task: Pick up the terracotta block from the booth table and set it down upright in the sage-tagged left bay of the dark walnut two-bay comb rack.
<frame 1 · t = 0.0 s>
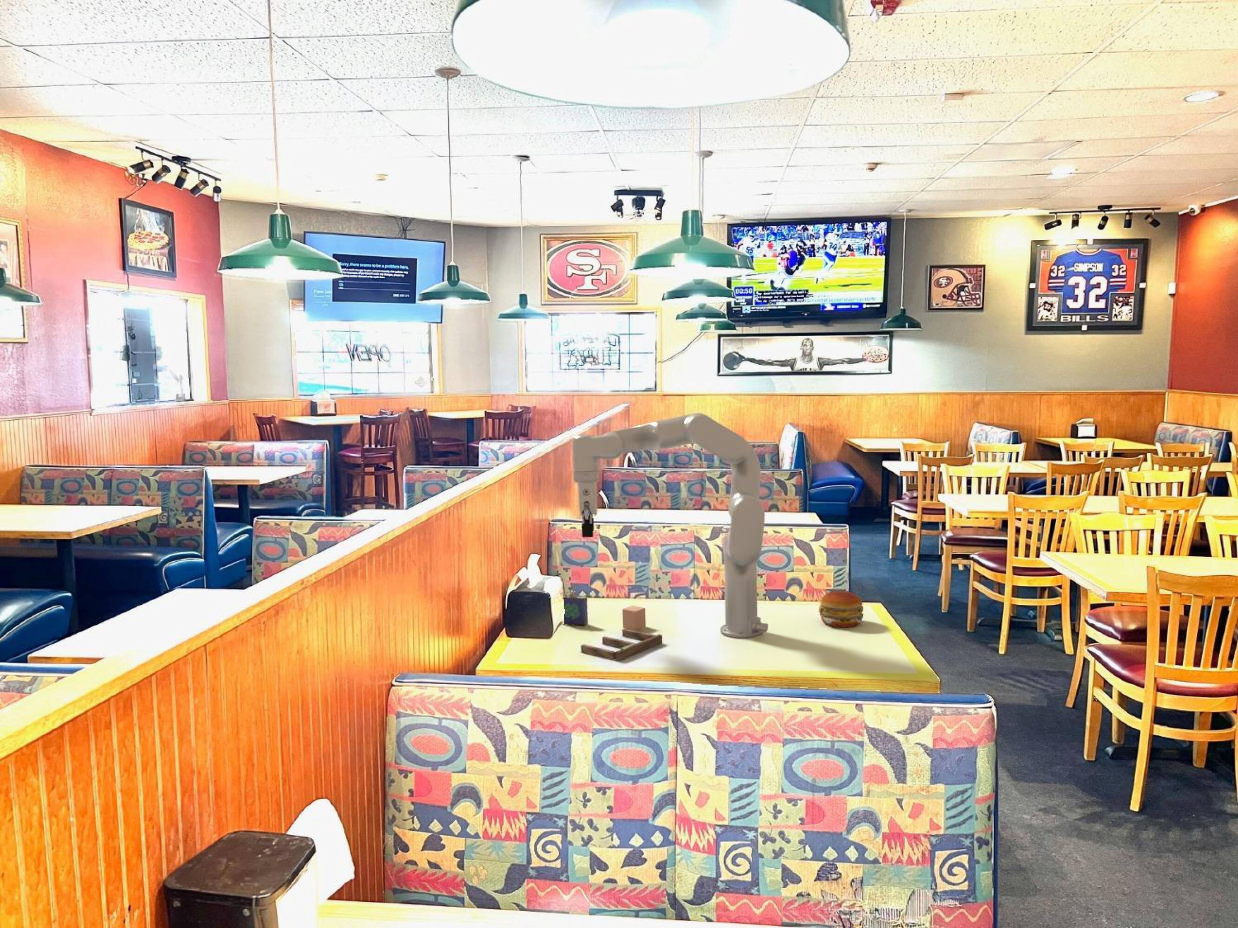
hand: (588, 534, 262), 31 cm above the table, tool pointing down, fingers open, 9 cm apart
comb rack: (619, 647, 254), on the table
flask: (574, 624, 279), on the table
burger: (840, 624, 272), on the table
block: (634, 627, 274), on the table
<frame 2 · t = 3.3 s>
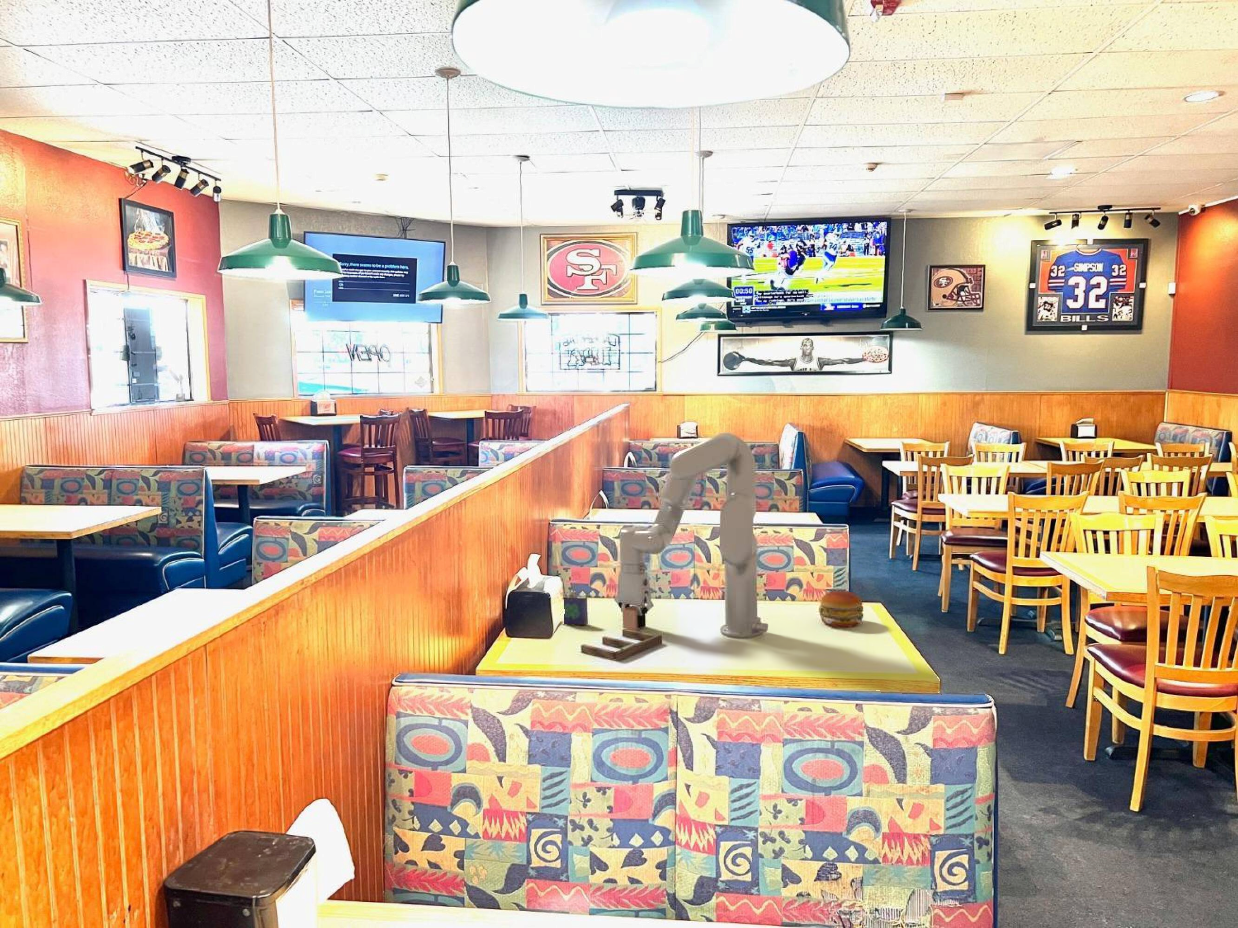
hand: (634, 624, 274), 1 cm above the table, tool pointing down, fingers closed on block, 5 cm apart
block: (634, 627, 274), on the table, touching gripper
everything else where it was.
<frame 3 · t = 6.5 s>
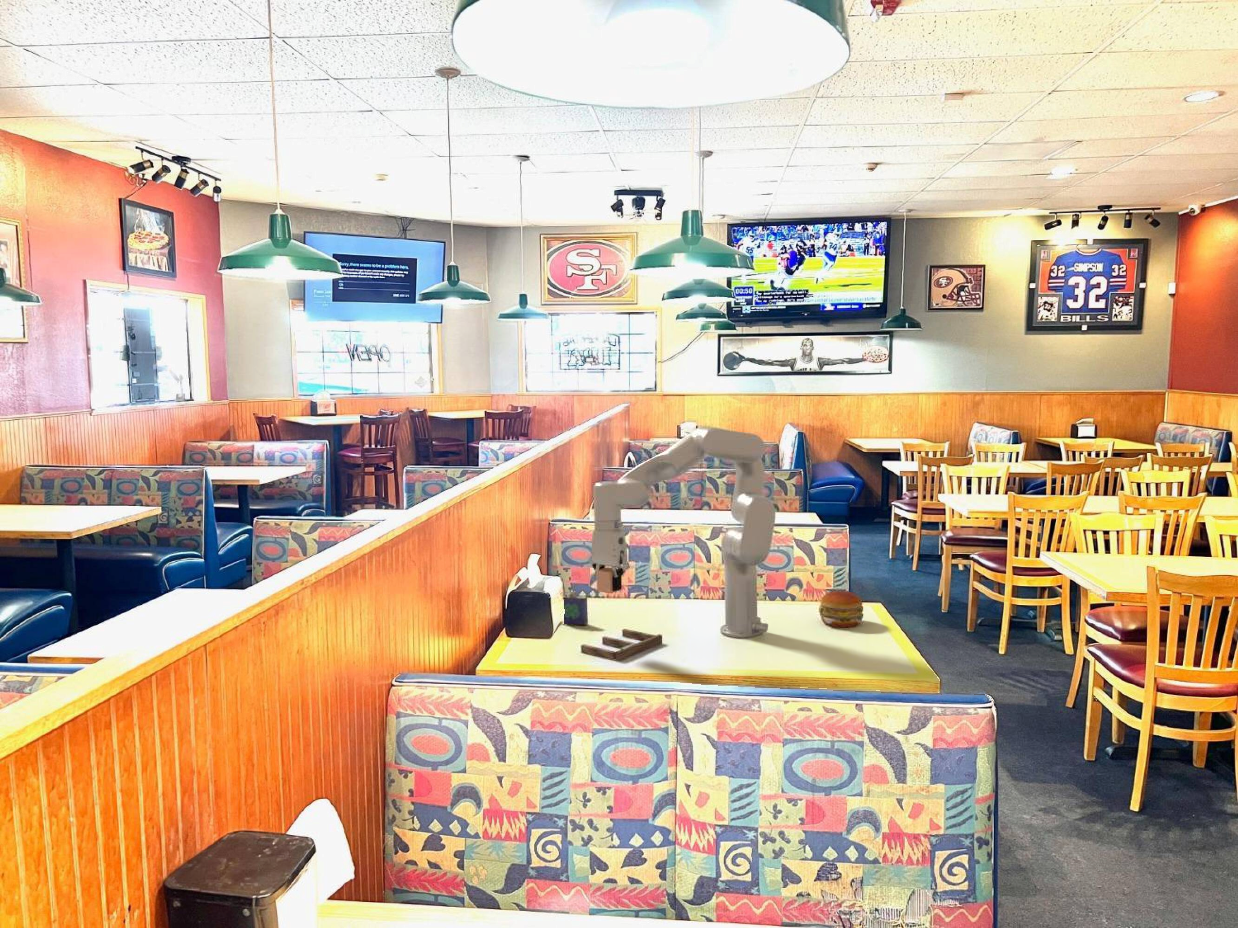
hand: (609, 588, 251), 18 cm above the table, tool pointing down, fingers closed on block, 5 cm apart
block: (609, 590, 251), point 17 cm above the table, touching gripper
everything else where it was.
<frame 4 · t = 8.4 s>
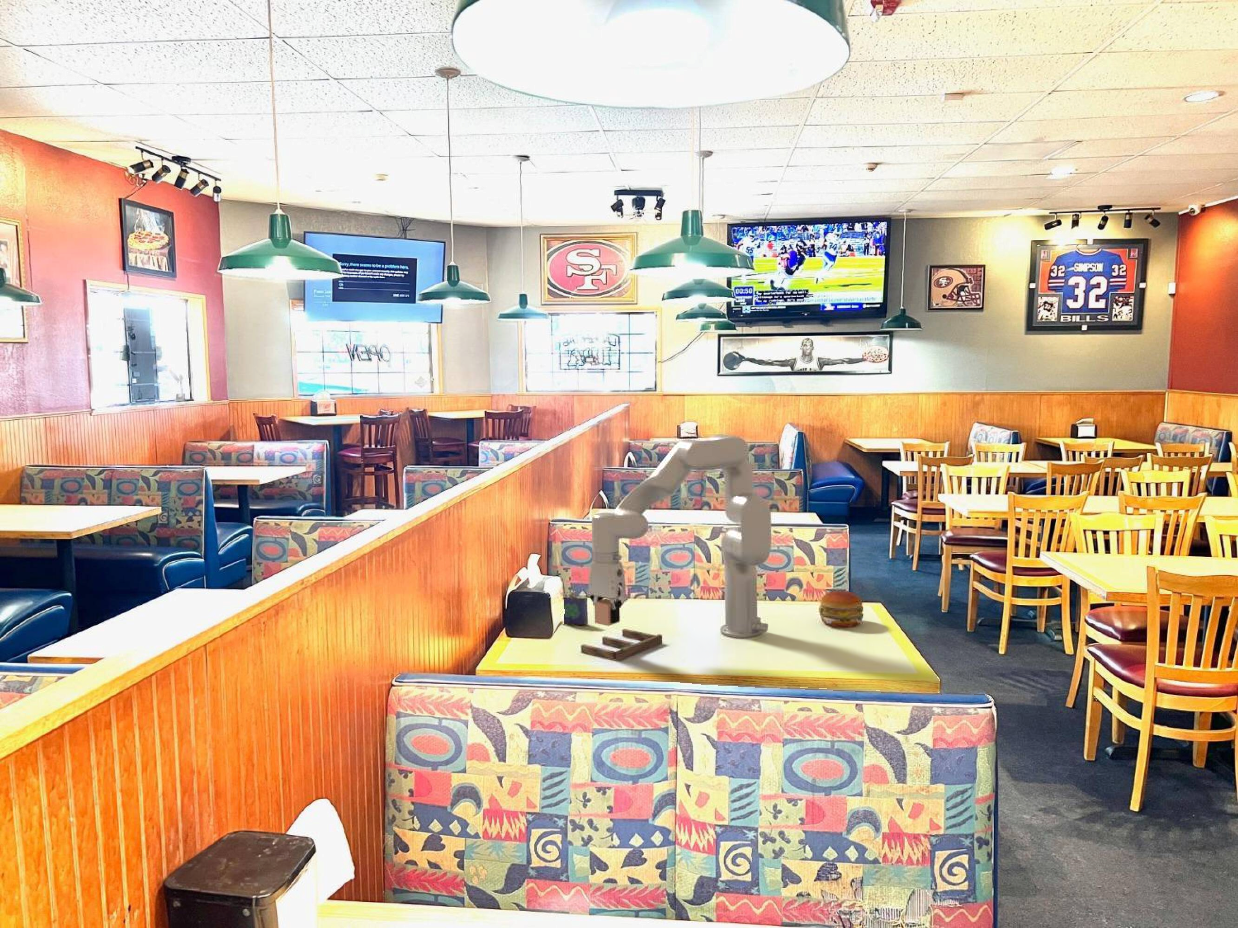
hand: (607, 619, 250), 9 cm above the table, tool pointing down, fingers closed on block, 5 cm apart
block: (607, 622, 250), point 8 cm above the table, touching gripper
everything else where it was.
when the fingers open (3 cm above the table, at t = 9.9 s): block drops 2 cm, resting in comb rack.
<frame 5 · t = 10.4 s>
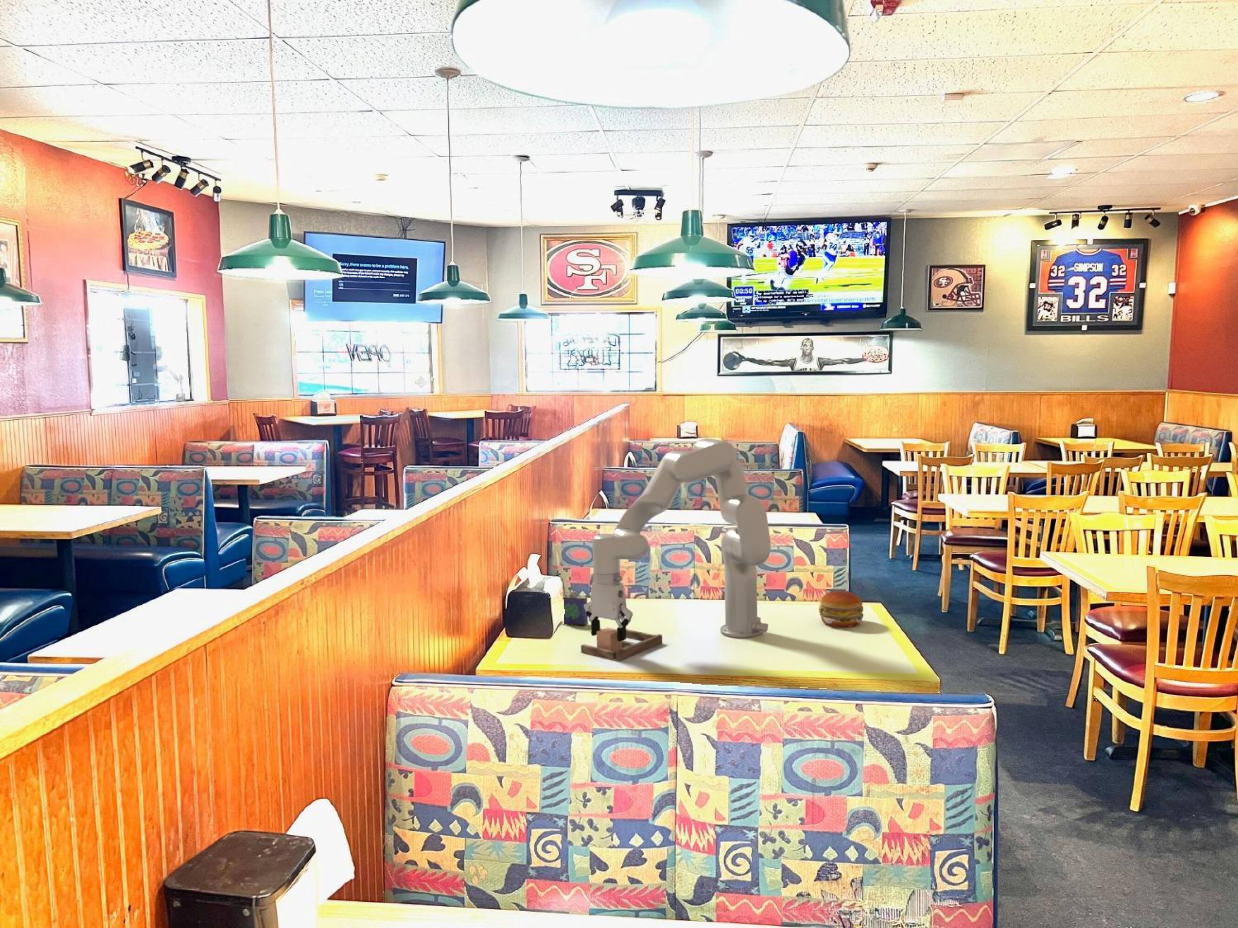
hand: (608, 637, 251), 4 cm above the table, tool pointing down, fingers open, 9 cm apart
block: (609, 651, 251), resting in comb rack
everything else where it was.
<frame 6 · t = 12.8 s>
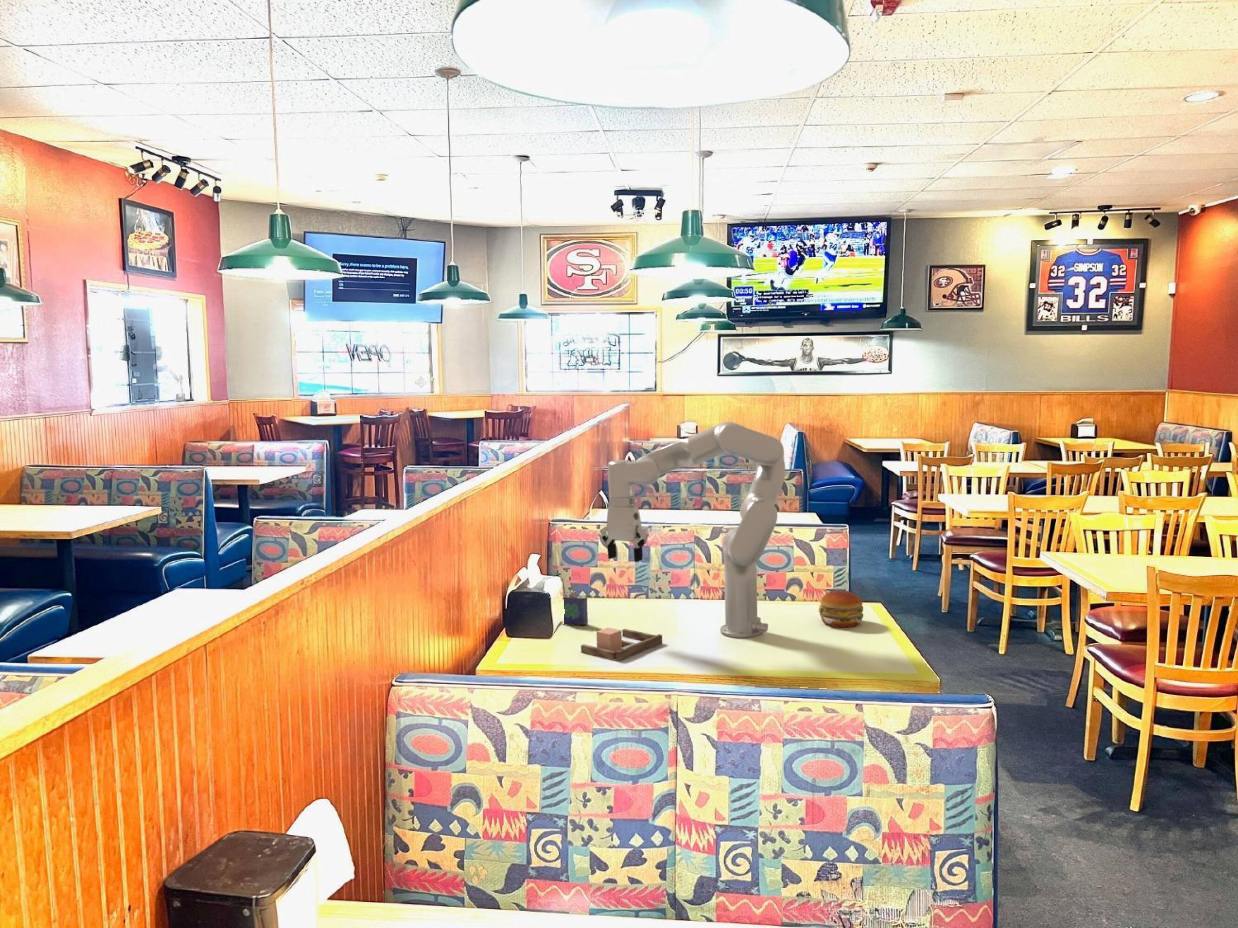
hand: (625, 559, 262), 23 cm above the table, tool pointing down, fingers open, 9 cm apart
nothing on the table moved.
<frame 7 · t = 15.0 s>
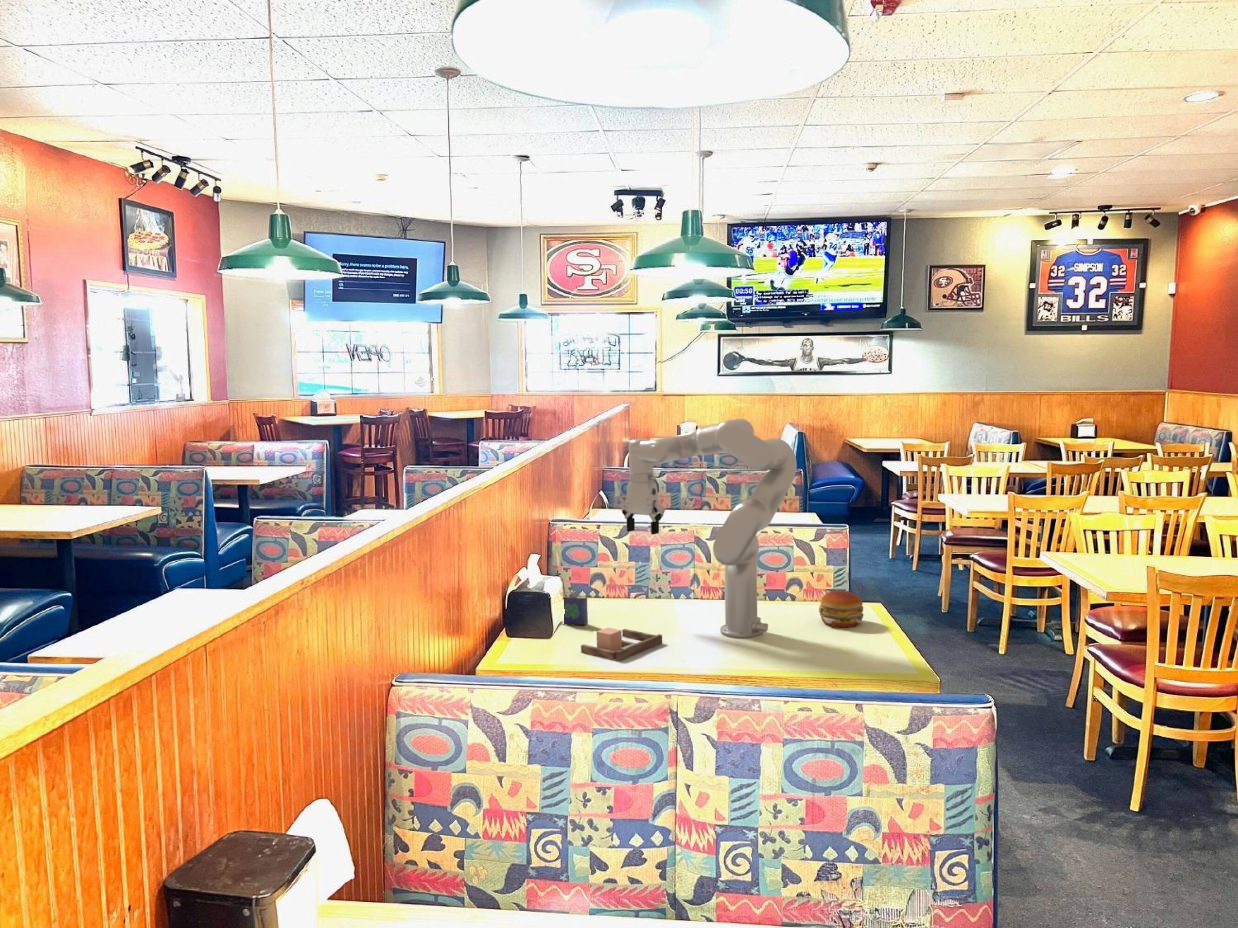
hand: (642, 532, 278), 28 cm above the table, tool pointing down, fingers open, 9 cm apart
nothing on the table moved.
at the end: block inside the target area (0.1 cm from its centre), resting in comb rack; block tilted 0°; the gripper is holding nothing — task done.
